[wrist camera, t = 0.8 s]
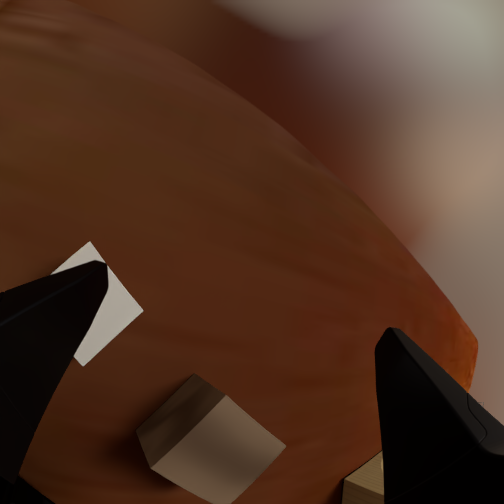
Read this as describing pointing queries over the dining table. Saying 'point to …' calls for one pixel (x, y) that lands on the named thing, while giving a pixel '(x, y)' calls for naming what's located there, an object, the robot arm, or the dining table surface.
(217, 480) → the walnut block
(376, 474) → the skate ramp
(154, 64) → the dining table surface
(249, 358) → the dining table surface
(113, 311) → the cream block
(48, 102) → the dining table surface
